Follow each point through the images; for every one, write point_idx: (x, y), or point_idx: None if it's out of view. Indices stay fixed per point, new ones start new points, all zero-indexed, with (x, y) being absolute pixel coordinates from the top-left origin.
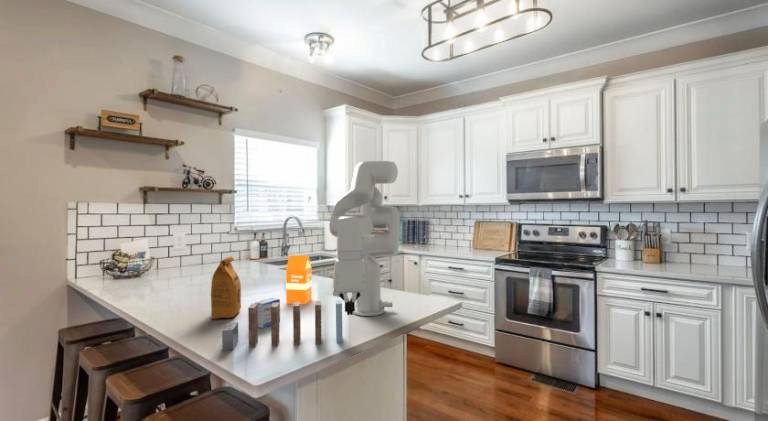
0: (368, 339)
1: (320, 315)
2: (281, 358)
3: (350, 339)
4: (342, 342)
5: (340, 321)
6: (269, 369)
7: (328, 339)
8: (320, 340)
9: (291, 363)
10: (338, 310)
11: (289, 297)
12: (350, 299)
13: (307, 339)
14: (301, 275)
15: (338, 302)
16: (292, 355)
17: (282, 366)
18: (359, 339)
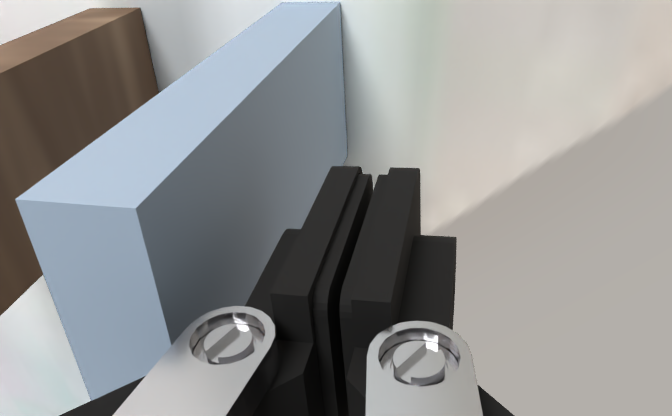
0: (617, 117)
1: (2, 308)
2: (2, 317)
3: (426, 86)
4: (346, 154)
5: None
6: (8, 408)
7: (212, 51)
8: None
9: (80, 381)
10: None
11: None
12: (349, 384)
13: (27, 21)
14: None
15: (121, 365)
16: (43, 295)
17: (51, 398)
18: (519, 101)
